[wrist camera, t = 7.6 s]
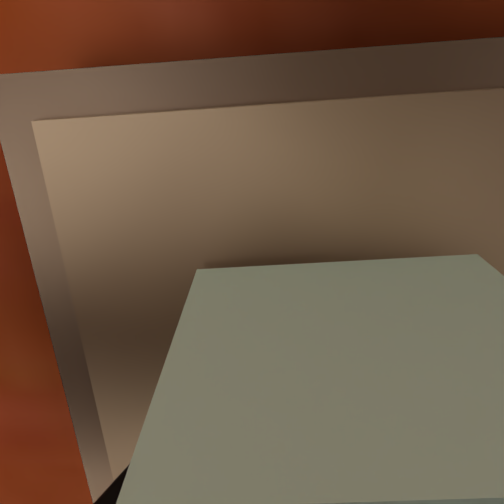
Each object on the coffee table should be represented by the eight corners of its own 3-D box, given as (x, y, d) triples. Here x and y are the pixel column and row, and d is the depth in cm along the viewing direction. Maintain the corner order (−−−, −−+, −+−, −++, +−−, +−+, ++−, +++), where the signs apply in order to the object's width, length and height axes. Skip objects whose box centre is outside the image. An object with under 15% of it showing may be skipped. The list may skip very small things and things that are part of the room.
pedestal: (495, 431, 16) (576, 555, 12) (143, 443, 16) (103, 566, 12) (554, 39, 11) (714, 20, 7) (72, 75, 12) (-27, 75, 8)
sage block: (453, 470, 10) (621, 820, 5) (221, 478, 10) (187, 821, 5) (477, 253, 8) (762, 490, 4) (196, 269, 8) (113, 509, 4)
